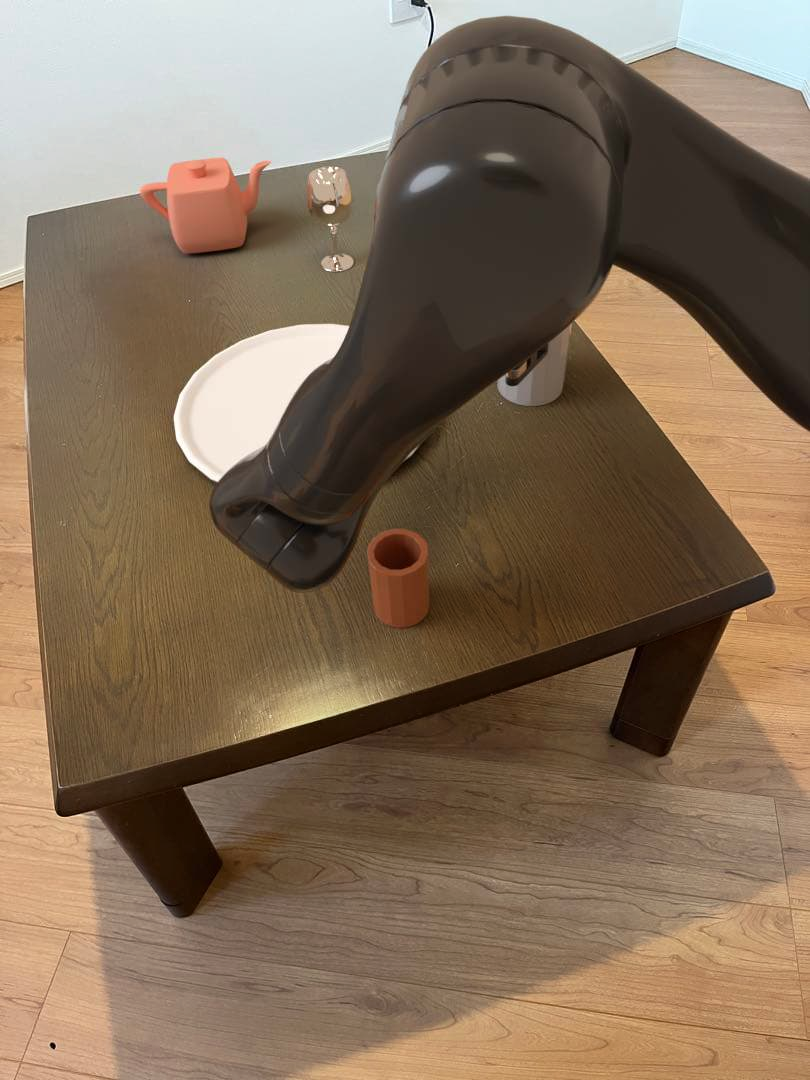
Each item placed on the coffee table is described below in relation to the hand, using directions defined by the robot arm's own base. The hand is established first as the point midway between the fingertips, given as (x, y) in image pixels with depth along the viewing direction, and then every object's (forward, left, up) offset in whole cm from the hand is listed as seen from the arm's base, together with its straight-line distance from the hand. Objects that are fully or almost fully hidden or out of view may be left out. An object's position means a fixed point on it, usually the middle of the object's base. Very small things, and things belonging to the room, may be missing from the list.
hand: (501, 290), depth 76 cm
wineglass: (+28, -27, -17) cm, 43 cm away
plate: (+21, +2, -17) cm, 27 cm away
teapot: (+47, -30, -17) cm, 58 cm away
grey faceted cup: (-2, -8, -17) cm, 19 cm away
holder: (+3, +25, -17) cm, 30 cm away
